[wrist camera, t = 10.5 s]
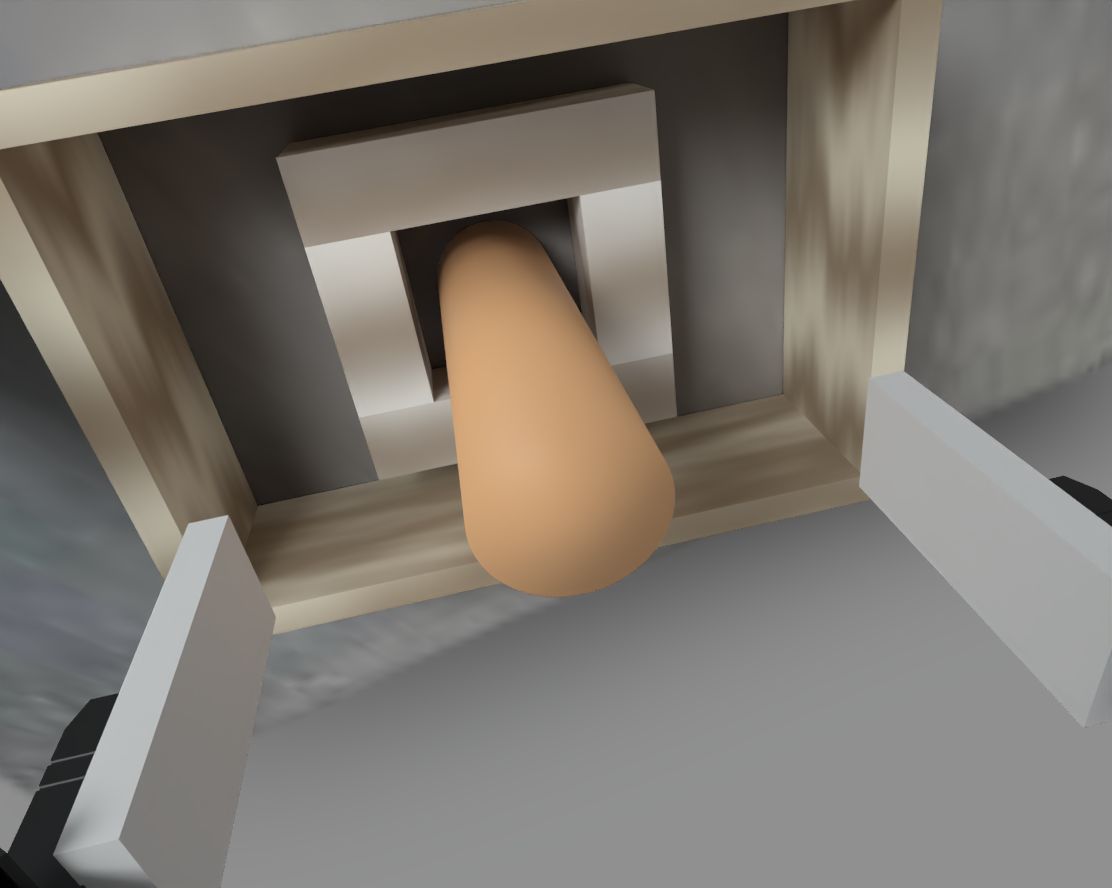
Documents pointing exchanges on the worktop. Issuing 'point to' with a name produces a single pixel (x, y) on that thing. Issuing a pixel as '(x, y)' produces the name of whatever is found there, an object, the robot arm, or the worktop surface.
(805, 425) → the open box
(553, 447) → the peg
